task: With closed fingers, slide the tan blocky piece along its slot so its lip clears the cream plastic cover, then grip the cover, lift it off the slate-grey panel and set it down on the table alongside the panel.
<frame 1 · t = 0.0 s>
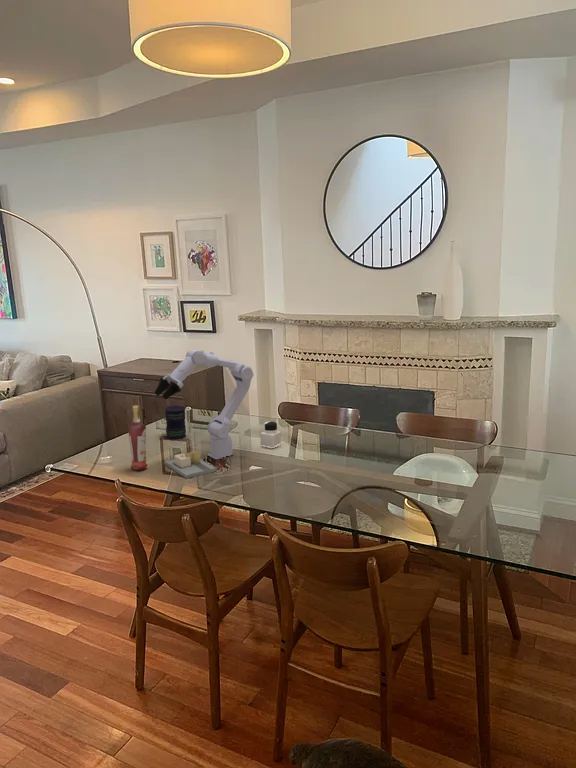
hand: (159, 396, 248), 32 cm above the table, tool tilted 50°, fingers open, 7 cm apart
storage jar: (176, 437, 298), on the table
liquor: (139, 469, 255), on the table
medicine bottle: (270, 446, 285), on the table
tan blocky piece: (192, 458, 256), point 4 cm above the table, slide at 0.0 cm
panel: (189, 467, 256), on the table
cover: (182, 464, 256), point 2 cm above the table, touching panel
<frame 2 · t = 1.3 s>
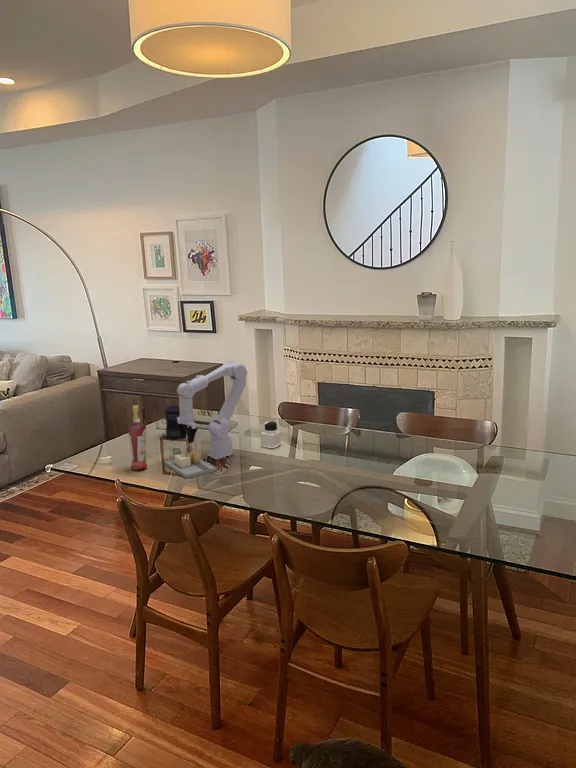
hand: (187, 440, 261), 10 cm above the table, tool pointing down, fingers open, 6 cm apart
nothing on the table moved.
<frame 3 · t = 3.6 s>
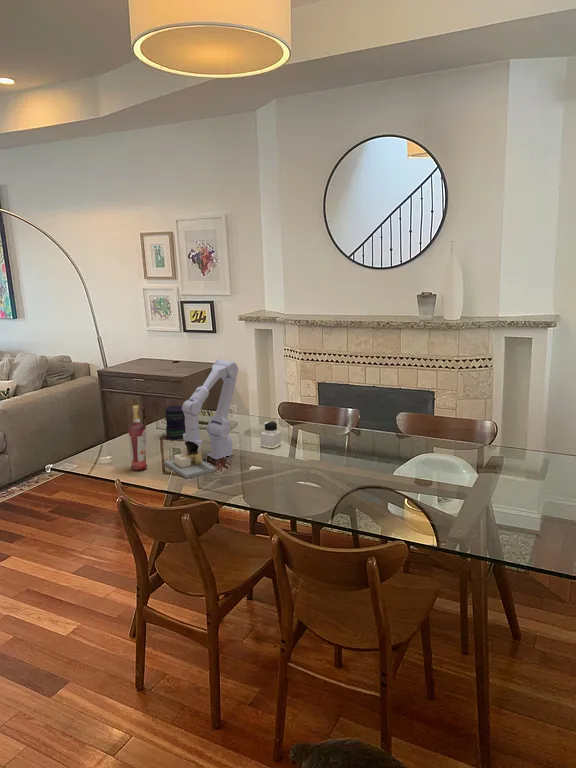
hand: (193, 457, 259), 3 cm above the table, tool pointing down, fingers closed
tan blocky piece: (193, 458, 255), point 4 cm above the table, slide at 1.3 cm, touching gripper
everything else where it was.
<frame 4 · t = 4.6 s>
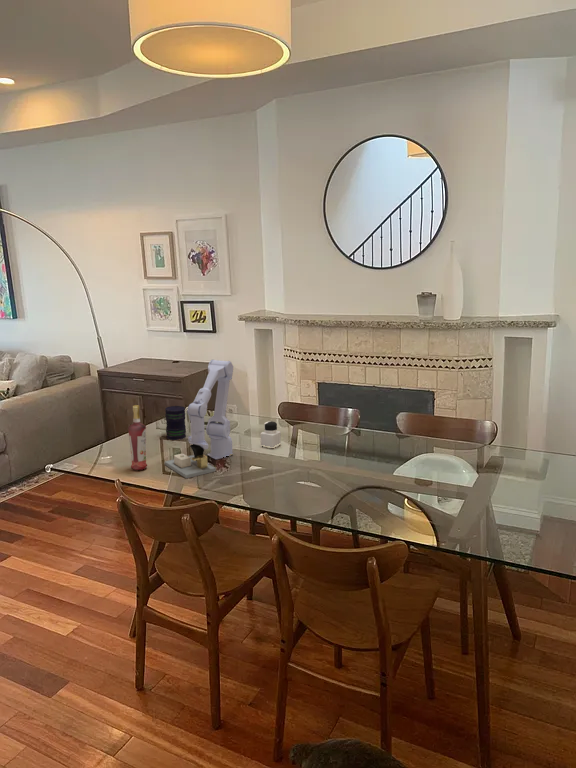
hand: (198, 460, 255), 3 cm above the table, tool pointing down, fingers closed
tan blocky piece: (199, 462, 251), point 4 cm above the table, slide at 6.3 cm, touching gripper
everything else where it was.
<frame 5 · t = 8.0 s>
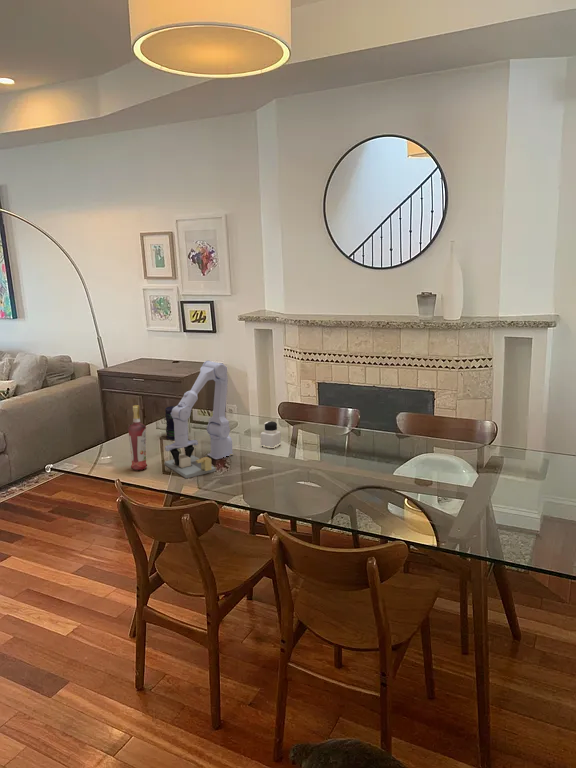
hand: (182, 463, 256), 2 cm above the table, tool pointing down, fingers closed on cover, 4 cm apart
tan blocky piece: (203, 464, 249), point 4 cm above the table, slide at 9.8 cm
cover: (182, 464, 256), point 2 cm above the table, touching gripper, panel
everything else where it was.
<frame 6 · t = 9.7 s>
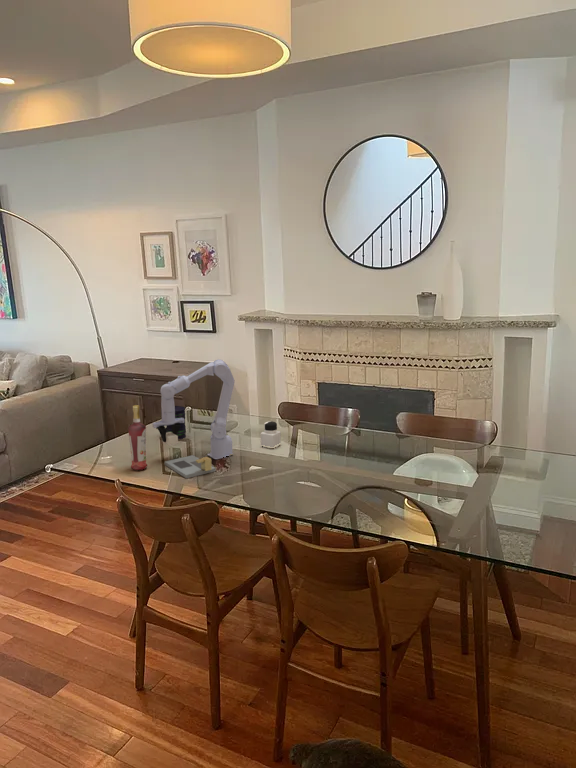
hand: (169, 440, 264), 9 cm above the table, tool pointing down, fingers closed on cover, 4 cm apart
cover: (169, 442, 264), point 8 cm above the table, touching gripper
everything else where it was.
when the fingers open (2 cm above the table, at t = 11.4 s): cover drops 1 cm, on the table.
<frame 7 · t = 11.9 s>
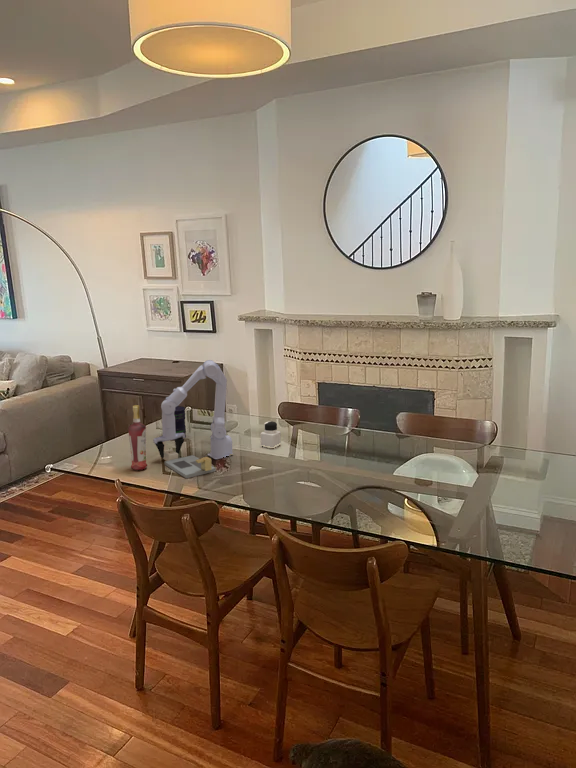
hand: (170, 455, 266), 2 cm above the table, tool pointing down, fingers open, 7 cm apart
cover: (170, 460, 266), on the table
everything else where it was.
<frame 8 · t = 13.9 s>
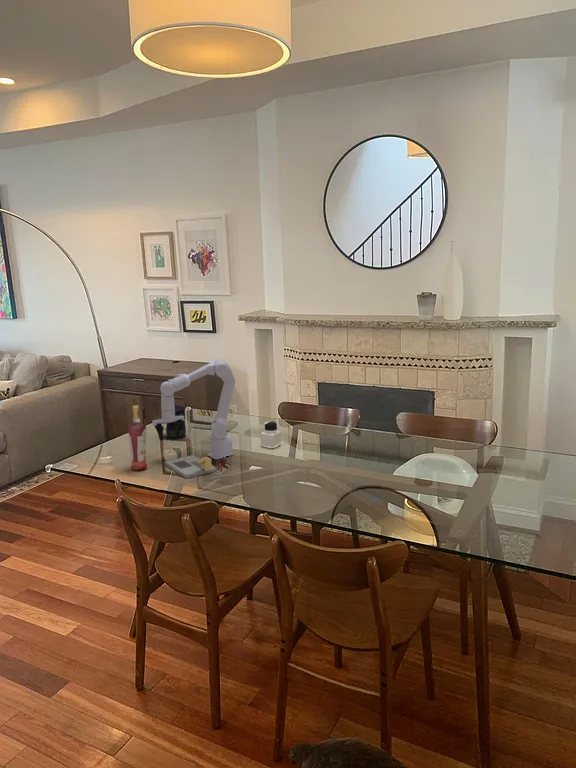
hand: (169, 438, 264), 10 cm above the table, tool pointing down, fingers open, 7 cm apart
nothing on the table moved.
at the end: tan blocky piece slide at 9.8 cm; cover inside the target area (0.7 cm from its centre), on the table; cover tilted 0° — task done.
